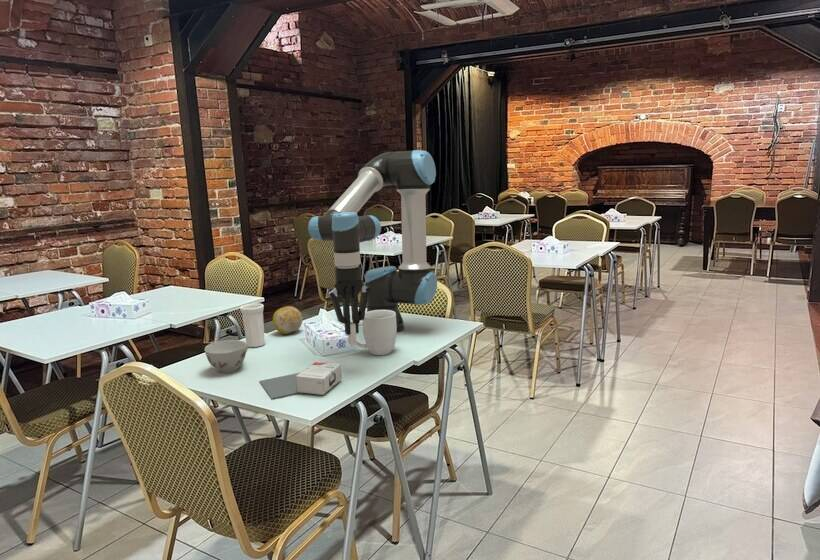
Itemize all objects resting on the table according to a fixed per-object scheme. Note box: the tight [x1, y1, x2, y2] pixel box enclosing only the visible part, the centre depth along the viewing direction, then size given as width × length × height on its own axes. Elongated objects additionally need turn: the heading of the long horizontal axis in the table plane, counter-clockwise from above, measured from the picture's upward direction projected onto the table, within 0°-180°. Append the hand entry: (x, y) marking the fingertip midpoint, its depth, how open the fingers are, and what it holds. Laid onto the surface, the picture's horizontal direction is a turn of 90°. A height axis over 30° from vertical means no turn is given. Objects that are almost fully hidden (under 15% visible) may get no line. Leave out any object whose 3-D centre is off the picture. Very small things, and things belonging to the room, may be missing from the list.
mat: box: [259, 371, 336, 400], centre depth 166 cm, size 18×15×1 cm
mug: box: [356, 310, 398, 356], centre depth 189 cm, size 15×11×13 cm
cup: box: [239, 303, 266, 348], centre depth 203 cm, size 8×8×14 cm
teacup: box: [204, 339, 249, 374], centre depth 181 cm, size 15×12×8 cm
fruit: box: [272, 305, 303, 335], centre depth 216 cm, size 10×11×10 cm
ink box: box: [296, 361, 343, 396], centre depth 162 cm, size 9×5×12 cm
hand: (352, 344), depth 172 cm, fingers closed
